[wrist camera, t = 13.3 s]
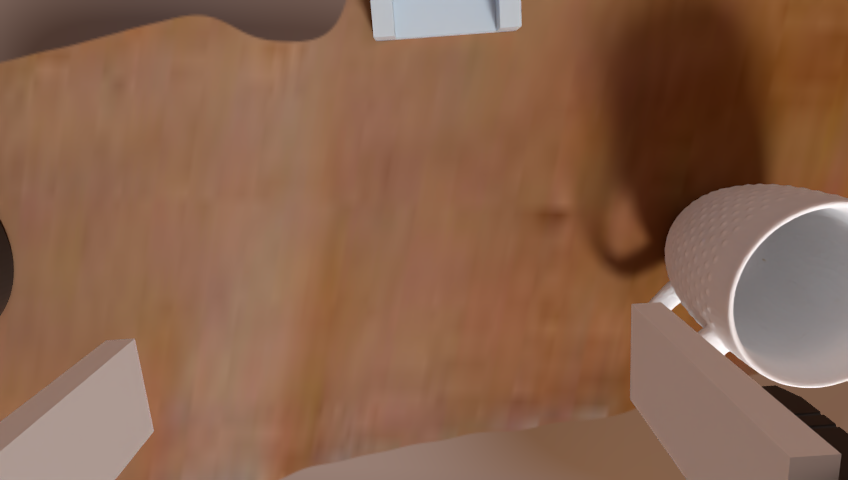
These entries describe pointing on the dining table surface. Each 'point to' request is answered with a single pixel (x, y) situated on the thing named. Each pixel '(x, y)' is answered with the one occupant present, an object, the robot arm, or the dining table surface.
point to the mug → (766, 279)
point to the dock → (442, 17)
